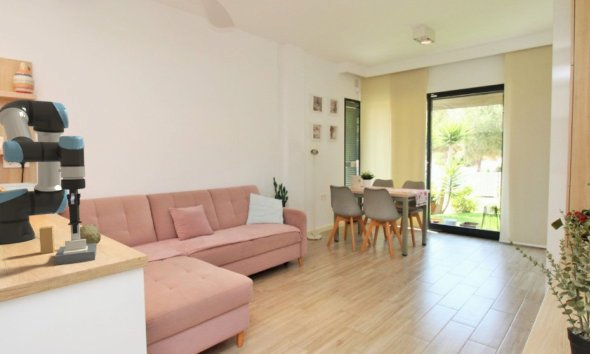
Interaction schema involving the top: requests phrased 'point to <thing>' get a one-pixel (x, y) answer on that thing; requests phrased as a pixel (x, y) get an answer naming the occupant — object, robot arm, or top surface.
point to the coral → (90, 233)
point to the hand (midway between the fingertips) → (75, 241)
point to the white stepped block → (75, 247)
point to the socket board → (75, 255)
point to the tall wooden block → (47, 239)
